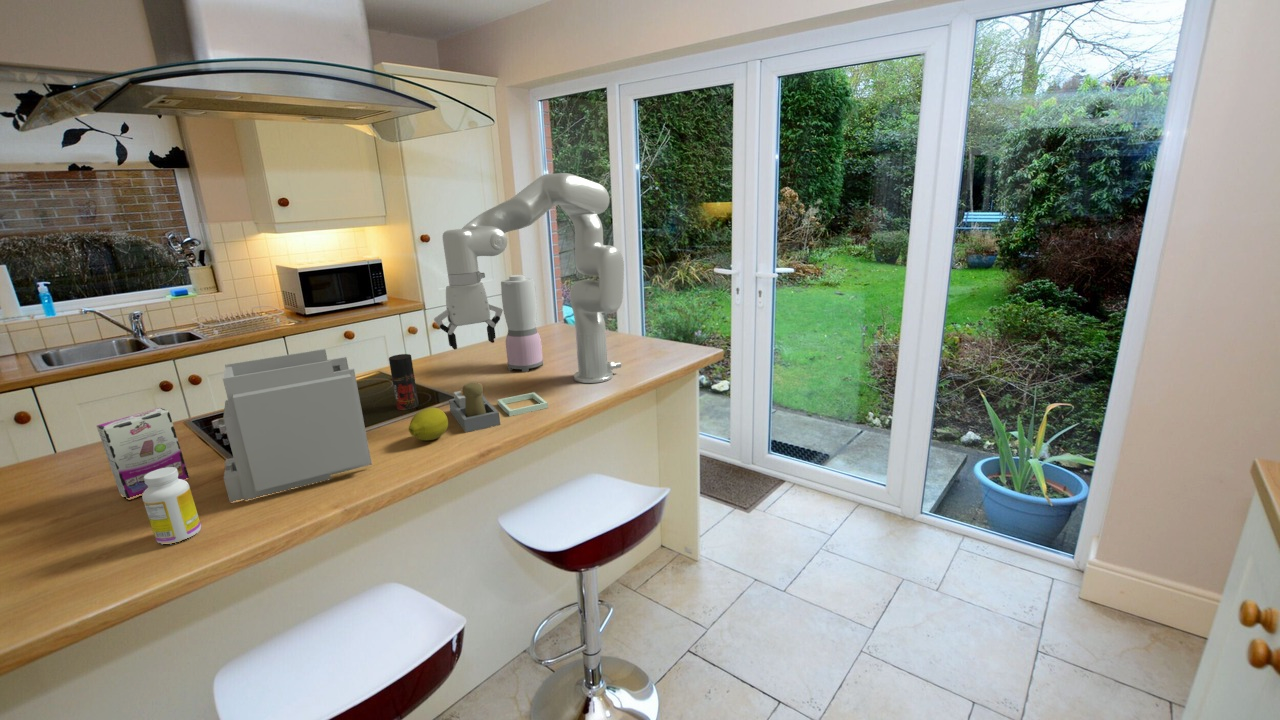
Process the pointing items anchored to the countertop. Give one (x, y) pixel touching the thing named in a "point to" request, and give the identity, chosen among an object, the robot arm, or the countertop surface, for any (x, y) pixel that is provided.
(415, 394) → the deodorant
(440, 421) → the lemon
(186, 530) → the supplement bottle
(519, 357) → the blender
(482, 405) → the cork
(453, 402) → the grey hollow box
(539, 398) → the pale green square frame
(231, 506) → the countertop surface
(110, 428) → the candy bar box
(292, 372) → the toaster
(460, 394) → the twin plug
